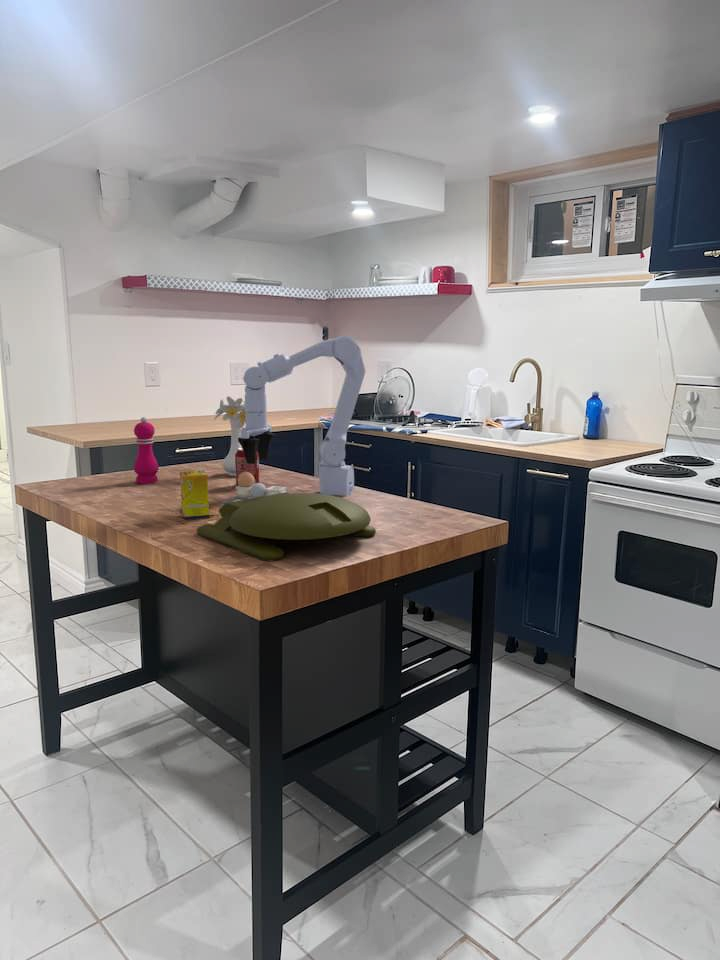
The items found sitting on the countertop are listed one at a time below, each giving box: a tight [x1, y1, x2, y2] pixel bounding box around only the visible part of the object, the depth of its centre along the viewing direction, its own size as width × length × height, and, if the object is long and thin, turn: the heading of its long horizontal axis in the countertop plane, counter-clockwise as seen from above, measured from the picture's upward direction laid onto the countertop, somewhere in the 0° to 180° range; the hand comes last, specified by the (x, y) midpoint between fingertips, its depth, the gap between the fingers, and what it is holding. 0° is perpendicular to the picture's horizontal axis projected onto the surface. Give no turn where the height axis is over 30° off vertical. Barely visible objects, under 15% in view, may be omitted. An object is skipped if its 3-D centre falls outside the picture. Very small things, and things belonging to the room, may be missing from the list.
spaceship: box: [196, 491, 377, 561], centre depth 154 cm, size 35×31×10 cm
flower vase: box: [213, 395, 246, 477], centre depth 225 cm, size 13×18×25 cm
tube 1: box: [235, 485, 253, 499], centre depth 190 cm, size 5×5×3 cm
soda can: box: [235, 447, 260, 487], centre depth 205 cm, size 7×7×12 cm
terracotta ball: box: [238, 472, 254, 487], centre depth 189 cm, size 4×4×4 cm
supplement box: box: [179, 470, 210, 520], centre depth 172 cm, size 6×6×11 cm
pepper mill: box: [133, 416, 160, 485], centre depth 213 cm, size 7×7×20 cm
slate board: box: [219, 494, 267, 504], centre depth 188 cm, size 16×14×2 cm
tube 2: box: [266, 485, 288, 496], centre depth 187 cm, size 5×5×3 cm
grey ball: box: [250, 482, 267, 498], centre depth 187 cm, size 4×4×4 cm
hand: (257, 461), depth 192 cm, fingers open, 7 cm apart
